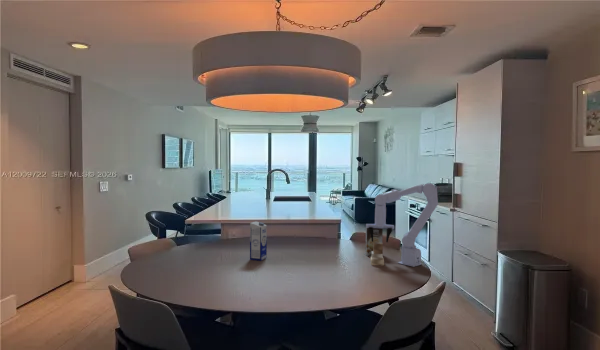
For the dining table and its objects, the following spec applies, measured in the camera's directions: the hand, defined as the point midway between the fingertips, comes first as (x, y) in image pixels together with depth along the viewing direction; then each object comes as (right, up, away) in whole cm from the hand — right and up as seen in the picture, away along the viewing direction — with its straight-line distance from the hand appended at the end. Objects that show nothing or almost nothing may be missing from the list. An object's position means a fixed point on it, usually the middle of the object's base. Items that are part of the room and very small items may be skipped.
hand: (379, 241), depth 196 cm
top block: (-2, -8, -5) cm, 10 cm away
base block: (-2, -11, -5) cm, 12 cm away
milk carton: (-66, -10, +2) cm, 66 cm away
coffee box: (0, -10, +14) cm, 18 cm away
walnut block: (-2, -5, -6) cm, 8 cm away
